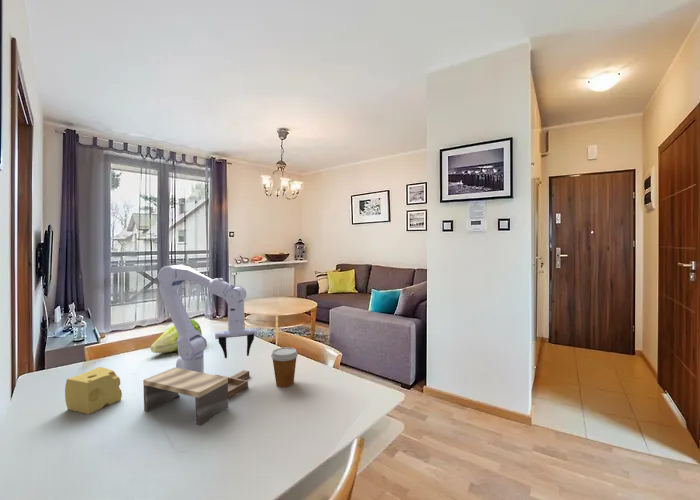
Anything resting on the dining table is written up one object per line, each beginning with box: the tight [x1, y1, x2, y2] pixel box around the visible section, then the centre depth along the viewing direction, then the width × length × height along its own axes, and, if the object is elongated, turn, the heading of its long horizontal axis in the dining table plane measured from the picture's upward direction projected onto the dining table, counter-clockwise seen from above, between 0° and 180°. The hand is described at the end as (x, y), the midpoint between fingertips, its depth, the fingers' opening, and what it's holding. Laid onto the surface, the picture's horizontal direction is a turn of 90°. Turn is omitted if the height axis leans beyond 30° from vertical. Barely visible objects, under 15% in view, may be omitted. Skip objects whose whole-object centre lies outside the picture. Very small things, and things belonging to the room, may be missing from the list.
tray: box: [216, 369, 250, 400], centre depth 119 cm, size 15×18×2 cm
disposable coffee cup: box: [270, 346, 298, 388], centre depth 120 cm, size 10×10×12 cm
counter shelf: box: [143, 367, 229, 427], centre depth 102 cm, size 23×11×10 cm, turn 67°
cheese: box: [64, 366, 123, 415], centre depth 105 cm, size 10×11×10 cm
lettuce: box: [150, 318, 203, 354], centre depth 159 cm, size 15×24×14 cm, turn 153°
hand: (237, 356), depth 122 cm, fingers open, 7 cm apart
